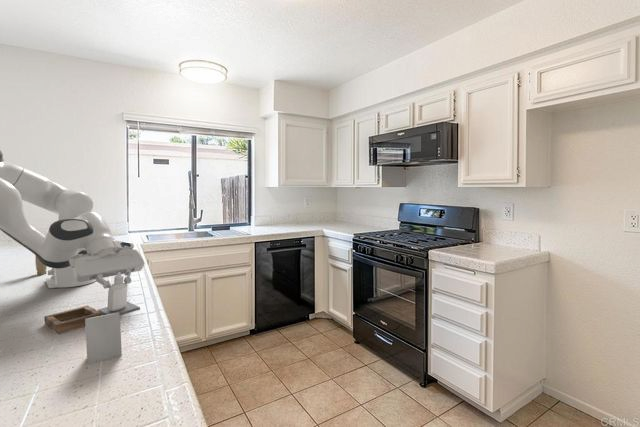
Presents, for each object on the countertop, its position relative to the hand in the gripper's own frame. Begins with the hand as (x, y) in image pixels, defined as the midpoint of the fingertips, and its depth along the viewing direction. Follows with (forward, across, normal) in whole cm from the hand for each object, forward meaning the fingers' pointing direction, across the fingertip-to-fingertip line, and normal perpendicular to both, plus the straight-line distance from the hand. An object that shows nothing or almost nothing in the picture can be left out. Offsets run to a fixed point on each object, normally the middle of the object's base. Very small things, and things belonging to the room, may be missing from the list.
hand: (118, 284), depth 106 cm
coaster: (+5, 0, +7) cm, 9 cm away
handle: (-51, 0, +61) cm, 80 cm away
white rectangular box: (+26, -15, -12) cm, 33 cm away
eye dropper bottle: (+5, 0, +7) cm, 8 cm away
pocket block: (+5, -12, +7) cm, 15 cm away
